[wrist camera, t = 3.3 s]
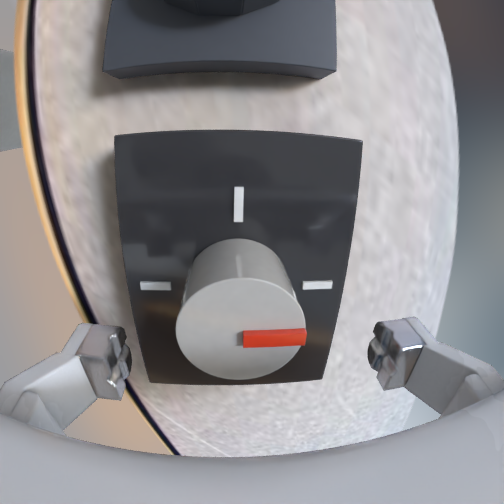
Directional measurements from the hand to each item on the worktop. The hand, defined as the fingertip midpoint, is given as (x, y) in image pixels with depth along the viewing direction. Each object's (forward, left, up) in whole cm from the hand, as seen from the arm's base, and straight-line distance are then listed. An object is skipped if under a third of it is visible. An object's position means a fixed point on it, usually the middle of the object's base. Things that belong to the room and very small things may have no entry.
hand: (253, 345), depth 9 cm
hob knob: (0, 0, -4) cm, 4 cm away
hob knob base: (0, 0, -7) cm, 7 cm away
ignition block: (-1, +15, -7) cm, 17 cm away
